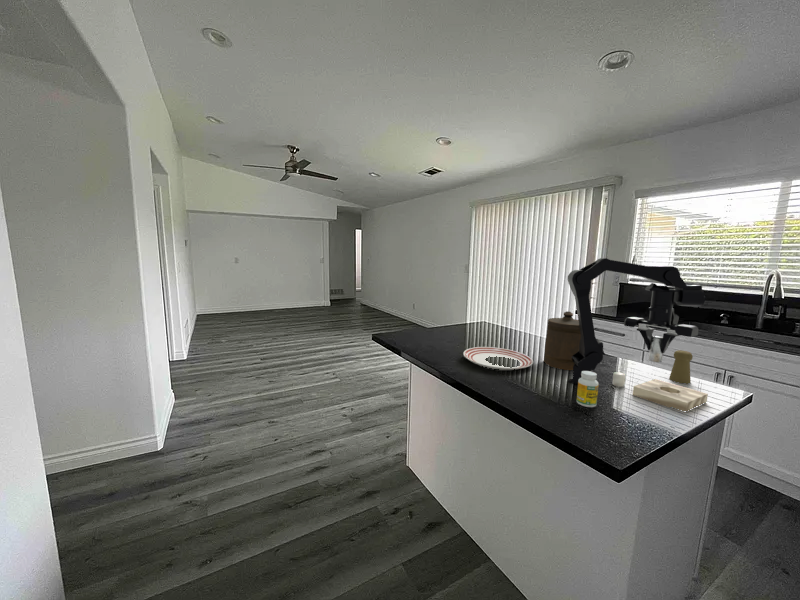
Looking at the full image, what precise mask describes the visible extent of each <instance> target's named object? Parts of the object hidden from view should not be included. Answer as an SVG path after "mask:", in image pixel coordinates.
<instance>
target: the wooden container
mask: <svg viewBox="0 0 800 600" xmlns="http://www.w3.org/2000/svg"><path fill="white" fill-rule="evenodd" d="M573 317H574V313H573V312H571V311H565V312H563V317H552V318H547V319H548V320H547V328H546V337H545V344H544V356H543V357H544V358H543V363H544V362H545V363H546V364H547V365H546V364H545V363H544V364H545V365H546V366H548V365H549V366H548V367H550V368H553V367H554V369H557V368H558V370H562V369H563V370H564V371H571V370H573V366H574V364H575V363H574V362H573V360H572V355H574V354H575V353H577V352H578V351H579V343H580V339H581V333H580V327H579V320H578V319H575V318H573Z"/></svg>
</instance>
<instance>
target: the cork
mask: <svg viewBox="0 0 800 600" xmlns="http://www.w3.org/2000/svg"><path fill="white" fill-rule="evenodd" d="M673 358H674V362H673V365H672V369H671V372H670V375H669V378H668V379H669V380H670V381H671V380H673V381H672V382H674V381H675V382H674V383H677V382H679V383H678V384H682V383H686V384H685V385H688V383H690V384H691V361H692V360H693V354H692V353H691V352H689V351H686V350H682V349H681V350H678V349H677V350H675V351H674V353H673Z"/></svg>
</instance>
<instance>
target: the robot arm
mask: <svg viewBox="0 0 800 600" xmlns="http://www.w3.org/2000/svg"><path fill="white" fill-rule="evenodd" d="M606 271H607V272H612V273H614V272H615V273H618V274H624V275H630V276H635V277H640V278H643V279H646V280H647V281H650V282H651V283H650V284H648V285H647V286H646V287H645V288H644V290H645V291H649V292H651V299H650V307H648V311H649V318H648V319H647V320H645V318H644V317H637V316H630V317H626V318H625V319H624V322H623V326H625V327H630V328H635V327H636V326H637V328H636V331H638V332H639V333H640V335H641V337H642V339H643V341H644V343H645V346H646V349H647V351H649V352H650V343H651V336H653V333H654V331H655V329H658V330H663V331H666V332H665V333H663V334H662V335H663V336H662V337H663V341H662V349H661V350H662V353H663V354H665V353H666V351H667V349H668V347H669V346H670V344H671V343H672V341H673V340H674V339H675V338H677V337H680V336H682V337H683V336H684V337H688V338H689V337H690V338H691V337H695V336H698V335H699V327H698V326H697V325H691V324H684V323H683V324H678V323H679V318H680V316H679V315H678V314H676V313H675V308H673V307H674V303H675V304H676V305H677V306H681V307H699V308H700V307H702V306H703V305H704V304H705V301H706V297H707V296H705V291H704V290H703V285H701V284H692V285H687V283H686V281H684V280H683V278H682V276H681V272H680V270H679V269H678V267H675V266H671V265H670V266H669V265H644V264H638V263H636V264H635V263H633V262H632V263H631V262H624V261H618V260H613V259H610V258H605V257H603V258H597V259H596V260H595V261H593V262H591V263H590V264H588V265H585V266H583V267H582V268H580V269H575V270H572V271H570V272H569V274H568V275H567V283H568V285H569V288H570V290H571V292H572V294H573V297H574V300H575V305H576V313H577V320H579V327H580V333H581V339H580V343H579V351H578V352H577V353H575V354H574V355H572V360H573V362H574V363H575V364H574V366H573V371H572V376H571V377H572V378H569V379H567V382H569V383H572V384H574V385H576V386H578V380H579V379H580V378H582V377H581V372H582V371H591V372H594V371H595V370H596V368H597V366H598V364H600V363H601V362H602V361H603V360H604V356H606V353H605V352H604V342H602V341H601V340H599V339H598V338H596V334H595V327H594V322H593V315H592V313H593V312H592V307H591V301H590V293H591V289H592V281H593V280H595V279H596V278H598V277H599V276H601V275H602V274H603V273H604V272H606ZM656 283H657V284H661V285H657V284H656ZM669 287H671V288H669Z"/></svg>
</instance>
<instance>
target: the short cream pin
mask: <svg viewBox="0 0 800 600" xmlns="http://www.w3.org/2000/svg"><path fill="white" fill-rule="evenodd" d="M625 383H626V374H625V373H623V372H619V371H617V372H616V371H615V372H613V375H612V384H611V385H613V386H615V387H617V388H618V387H619V388H624V387H625V385H626V384H625Z"/></svg>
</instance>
